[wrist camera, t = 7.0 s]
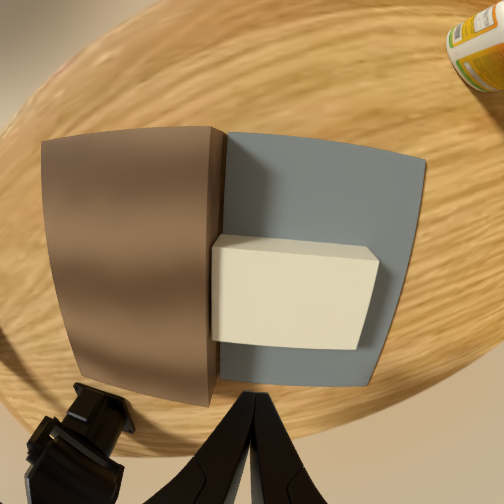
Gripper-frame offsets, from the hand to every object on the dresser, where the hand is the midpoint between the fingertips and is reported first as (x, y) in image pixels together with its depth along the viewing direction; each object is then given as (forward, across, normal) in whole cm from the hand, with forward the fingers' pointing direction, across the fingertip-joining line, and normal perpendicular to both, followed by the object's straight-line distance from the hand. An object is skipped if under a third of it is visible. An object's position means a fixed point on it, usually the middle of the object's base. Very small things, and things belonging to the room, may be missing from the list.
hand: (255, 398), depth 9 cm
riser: (+10, +9, 0) cm, 13 cm away
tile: (+10, -2, 0) cm, 10 cm away
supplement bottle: (+10, -14, -18) cm, 25 cm away
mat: (+10, -3, 0) cm, 11 cm away
